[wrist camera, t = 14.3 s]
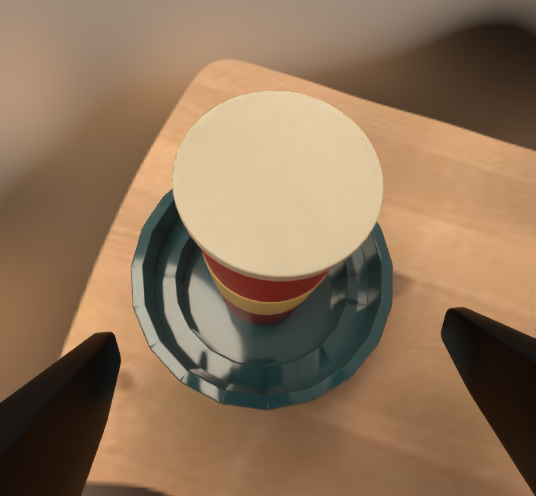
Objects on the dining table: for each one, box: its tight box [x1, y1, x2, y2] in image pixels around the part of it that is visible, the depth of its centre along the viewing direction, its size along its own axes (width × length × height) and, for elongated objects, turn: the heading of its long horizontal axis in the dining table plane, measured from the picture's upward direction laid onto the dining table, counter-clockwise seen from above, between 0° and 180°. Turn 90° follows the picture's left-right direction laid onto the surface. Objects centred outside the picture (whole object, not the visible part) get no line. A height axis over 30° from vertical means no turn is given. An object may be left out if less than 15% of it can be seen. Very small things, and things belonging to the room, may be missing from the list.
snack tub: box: [172, 91, 384, 325], centre depth 14 cm, size 6×6×12 cm
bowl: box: [131, 189, 393, 410], centre depth 19 cm, size 13×13×4 cm
